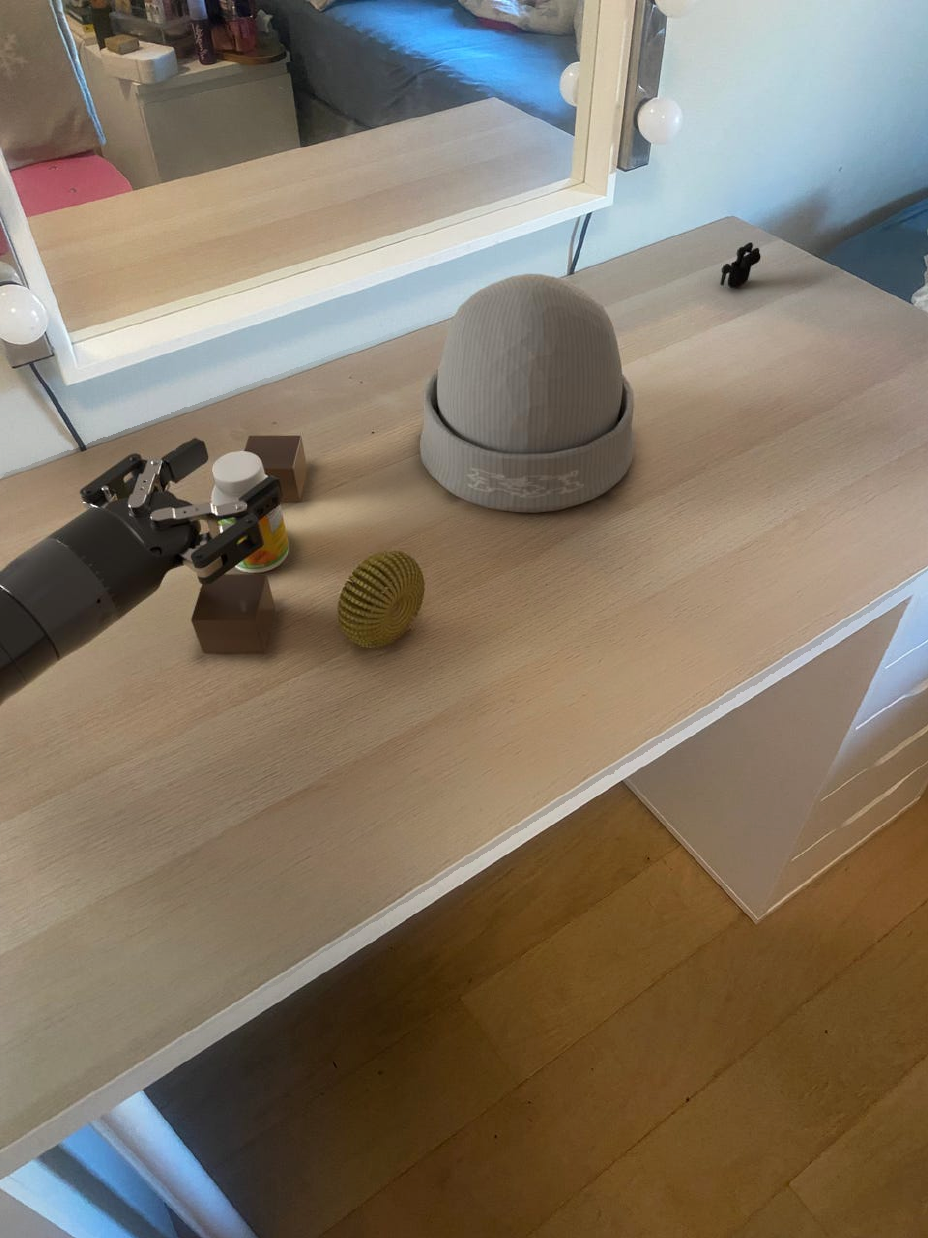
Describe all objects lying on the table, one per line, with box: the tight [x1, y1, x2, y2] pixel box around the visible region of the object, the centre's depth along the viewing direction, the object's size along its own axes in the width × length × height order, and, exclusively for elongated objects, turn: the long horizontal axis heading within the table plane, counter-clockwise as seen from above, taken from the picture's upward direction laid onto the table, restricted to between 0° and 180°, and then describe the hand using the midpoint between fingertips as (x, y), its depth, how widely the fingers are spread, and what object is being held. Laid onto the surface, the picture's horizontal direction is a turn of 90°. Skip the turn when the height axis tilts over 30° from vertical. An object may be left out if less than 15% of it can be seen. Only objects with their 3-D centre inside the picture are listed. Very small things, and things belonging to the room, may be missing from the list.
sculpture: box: [337, 550, 426, 649], centre depth 69 cm, size 8×4×8 cm, turn 140°
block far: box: [243, 435, 308, 503], centre depth 84 cm, size 5×5×4 cm
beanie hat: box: [419, 273, 636, 514], centre depth 83 cm, size 21×21×20 cm
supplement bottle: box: [211, 450, 290, 574], centre depth 75 cm, size 5×5×10 cm
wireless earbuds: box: [719, 241, 762, 289], centre depth 107 cm, size 7×2×5 cm, turn 132°
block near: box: [190, 573, 276, 655], centre depth 71 cm, size 5×5×4 cm
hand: (239, 466), depth 72 cm, fingers open, 8 cm apart
